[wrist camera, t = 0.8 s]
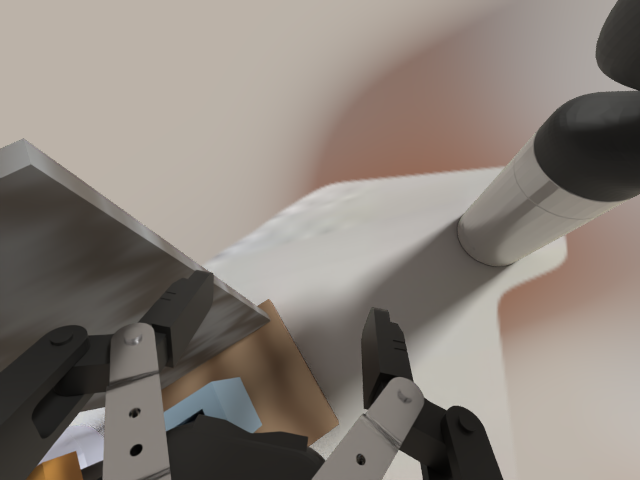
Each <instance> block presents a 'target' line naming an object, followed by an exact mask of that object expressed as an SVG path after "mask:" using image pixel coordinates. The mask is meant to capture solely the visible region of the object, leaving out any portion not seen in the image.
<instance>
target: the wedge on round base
mask: <svg viewBox="0 0 640 480" xmlns="http://www.w3.org/2000/svg"><path fill="white" fill-rule="evenodd" d="M74 451H76V452H77V456H78V461H79V465H80V469H83V468H85V467H88V466H90V465H92V464H95V463H97V462H99V461H102V460H103V454H104V439H103V437H102V435H101V434H100V433H99V432H98V431H97V430H95V429H94V428H92V427H89V426H86V425H75V426H70V427H67V428H66V430H65V431H64V432H63V433H62V435H61V436H60V437H59V439H58V440H57V441H56V442H55V444H54V445H53V446H52V447H51V449H50V450H49V451H48V452H47V454H46V455H45V456H44V457H43V459H42V460H41V461H40V462H39V464H41V463H42V462H45V461H48V460H51V459H54V458H57V457H60V456H62V455H65V454H68V453H71V452H74ZM39 464H38V465H39ZM38 465H37V466H38Z"/></svg>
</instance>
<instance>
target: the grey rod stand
mask: <svg viewBox="0 0 640 480" xmlns="http://www.w3.org/2000/svg"><path fill="white" fill-rule="evenodd" d="M195 270H201V271H206V272H209V271H207V270H206V269H205V268H203V267H202V266H200V265H199V264H198V263H196V262H195V261H193V260H192V259H190V258H189V257H188V256H186V255H185V254H184V253H182V252H181V251H179V250H178V249H177V248H175V247H174V246H173V245H171V244H170V243H168V242H167V241H166V240H164V239H163V238H161V237H160V236H159V235H157V234H156V233H155V232H153V231H152V230H150V229H149V228H148V227H146V226H145V225H143V224H142V223H141V222H139V221H138V220H136V219H135V218H134V217H132V216H131V215H130V214H128V213H127V212H125V211H124V210H123V209H121V208H120V207H118V206H117V205H116V204H114V203H113V202H111V201H110V200H109V199H107V198H106V197H104V196H103V195H102V194H100V193H99V192H97V191H96V190H95V189H93V188H92V187H91V186H89V185H88V184H86V183H85V182H84V181H82V180H81V179H79V178H78V177H77V176H75V175H74V174H73V173H71V172H70V171H68V170H67V169H65V168H64V167H63V166H61V165H60V164H59V163H57V162H56V161H54V160H53V159H51V158H50V157H49V156H47V155H46V154H45V153H43V152H42V151H41V150H39V149H38V148H36V147H35V146H34V145H32V144H31V143H29V142H28V141H27V140H25V139H21V140H19V141H17V142H14V143H12V144H10V145H8V146H5V147H3V148H1V149H0V372H1V371H3V370H4V369H5V368H6V367H7V366H8V365H10V364H11V363H12V362H13V361H14V360H16V359H17V358H18V357H19V356H20V355H21V354H23V353H24V352H25V351H26V350H27V349H28V348H30V347H31V346H32V345H33V344H34V343H36V342H37V341H38V340H39V339H40V338H41V337H43V336H44V335H45V334H46V333H48V332H50V331H52V330H54V329H56V328H59V327H62V326H67V325H79V326H82V327H84V328H85V329H86V330H87V333H88V335H106V334H114V333H115V332H116V331H117V330H119V329H120V328H122V327H124V326H126V325H129V324H132V323H137V322H138V321H139V320H140V319H141V318H142V317H143V316H144V315H145V313H146V312H147V311H148V310H149V309H150V308H151V307H152V306H153V304H154V303H155V302H156V301H157V300H158V299H160V297H161V296H162V294H163V293H165V291H166V290H167V289H168V288H169V287H170V285H171V284H172V283H174V282H176V281H178V280H179V279H181V278H186V279H189V277H190V276H191V275H192V274H193V273H194V271H195ZM159 376H160V385H161V393H162V402H163V411H164V412H165V411H167V410H168V409H170V408H171V407H173V406H174V405H176V404H178V403H179V402H181V401H182V400H184V399H185V398H187V397H188V396H190V395H191V394H193V393H195V392H196V391H198V390H199V389H201V388H202V387H204V386H205V385H207V384H208V383H210V382H213V381H219V380H225V379H231V378H237V377H240V378H241V381H242V383H243V385H244V387H245V389H246V391H247V393H248V395H249V398H250V400H251V402H252V404H253V406H254V408H255V410H256V413H257V415H258V417H259V419H260V421H261V423H262V426H261V427H259V428H258V429H257V430H256V431H255V432H254V433H264V432H277V431H283V432H288V433H293V434H297V435H302V436H307V437H308V444H307V446H308V447H309V446H310V445H311V444H313V443H314V442H315V441H317V440H318V439H319V438H321V437H322V436H324V435H325V434H326V433H328V432H329V431H330V430H332V429H333V428H334V427H336V426H337V425H339V422H338V419H337V417H336V416H335V414H334V412H333V410H332V408H331V407H330V405H329V403H328V401H327V400H326V398H325V396H324V394H323V392H322V391H321V389H320V387H319V385H318V384H317V382H316V380H315V378H314V376H313V375H312V373H311V371H310V369H309V368H308V366H307V364H306V362H305V360H304V359H303V357H302V355H301V353H300V351H299V350H298V348H297V346H296V344H295V343H294V341H293V339H292V337H291V335H290V334H289V332H288V330H287V328H286V327H285V325H284V323H283V321H282V319H281V318H280V316H279V314H278V312H277V310H276V309H275V307H274V305H273V303H272V302H271V301H270V300H269V299H268V300H266V301H265V302H263V303H261V304H260V305H258V306H256V305H255V304H253V303H252V302H250V301H249V300H248V299H246V298H245V297H244V296H242V295H241V294H239V293H238V292H237V291H235V290H234V289H232V288H231V287H230V286H228V285H227V284H225V283H224V282H223V281H221V280H220V279H218V278H217V277H216V276H214V293H213V303H212V306H211V309H210V311H209V312H208V314H207V315H206V317H205V319H204V320H203V322H202V323H201V325H200V327H199V328H198V330H197V332H196V333H195V335H194V336H193V338H192V340H191V341H190V343H189V344H188V346H187V348H186V349H185V351H184V352H183V354H182V356H181V357H180V359H179V361H178V362H177V364H176V365H175V367H174V368H171V367H166V366H165V367H164V368H163V370H162V371H161V373H160V374H159ZM105 402H106V392H101V393H94V395H93V396H92V397H91V398H90V400H89V401H88V402H87V403H86V405H85V406H84V407H83V408H82V410H81V411H80V412H82V411H87V410H92V409H97V408H102V407H105ZM194 422H195V421H193V422H190V423H194ZM190 423H188V424H190ZM102 475H103V460H102V461H99V462H97V463H95V464H92V465H90V466H88V467H85V468H83V469H80V465H79V461H78V456H77V452H76V451H74V452H71V453H68V454H65V455H62V456H60V457H57V458H54V459H51V460H48V461H45V462H42V463H41V464H39V465H38V466H36V467H35V469H34V470H33V471H32V472H31V474H30V475H29V476H28V477H27V479H26V480H96V479H98V478H99V477H101V476H102Z"/></svg>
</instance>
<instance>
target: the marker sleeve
mask: <svg viewBox="0 0 640 480" xmlns="http://www.w3.org/2000/svg"><path fill="white" fill-rule="evenodd" d="M198 414H201V415H206V416H211V417H215V418H220V419H225V420H227V421H229V422H231V423H233V424H235V425H236V426H238V427H240V428H242V429H244V430H246V431H248V432H250V433H254V432H255V431H256V430H257V429H258V428H259V427H261V426H262V423H261V421H260V419H259V417H258V415H257V413H256V410H255V408H254V406H253V404H252V402H251V400H250V398H249V395H248V393H247V391H246V389H245V387H244V385H243V383H242V381H241V378H240V377H237V378H231V379H225V380H219V381H213V382H210V383H208V384H207V385H205V386H204V387H202V388H201V389H199V390H198V391H196V392H195V393H193V394H191V395H190V396H188V397H187V398H185V399H184V400H182V401H181V402H179V403H178V404H176V405H174V406H173V407H171V408H170V409H168V410H167V411H165V412H164V419H165V428H166V431H168V430H170V429H172V428H175V427H178V426H181V425H185V424H188V423H190V422H193V421H195V420H196V418H197V416H198Z"/></svg>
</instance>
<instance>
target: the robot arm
mask: <svg viewBox="0 0 640 480" xmlns="http://www.w3.org/2000/svg"><path fill="white" fill-rule="evenodd" d="M596 60H597V64H598V66H599V68H600V69H601V71H602V72H603V73H604V74H605V75H607V76H608V77H609V78H611V79H613V80H614V81H616V82H618V83H620V84H622V85H625V86H627V87H630V88H633V89H636V90H638V91H617V92H597V93H591V94H587V95H582V96H579V97H576V98H574V99H572V100H570V101H568V102H566V103H565V104H563V105H562V106H561V107H559V108H558V109H557V110H556V111H555V112H554V113H553V114H552V115H551V116H550V117H549V118H548V119H547V121H546V122H545V123H544V124H543V125H542V126H541V127H540V129H539V130H538V131H537V132H536V133H535V134H534V135H533V137H532V138H531V139H530V140H529V141H528V142H527V143H526V144H525V145H524V146H523V148H522V149H521V150H520V151H519V152H518V154H517V155H516V156H515V157H514V158H513V159H512V160H511V161H510V162H509V164H508V165H507V166H506V167H505V168H504V169H503V170H502V172H501V173H500V174H499V175H498V176H497V177H496V178H495V179H494V181H493V182H492V183H491V184H490V185H489V186H488V187H487V188H486V190H485V191H484V192H483V193H482V194H481V195H480V196H479V197H478V199H477V200H476V201H475V202H474V203H473V204H472V205H471V206H470V208H469V209H468V210H467V211H466V212H465V213H464V214H463V216H462V217H461V218H460V221H459V223H458V228H457V232H458V238H459V241H460V243H461V245H462V247H463V248H464V249H465V251H466V252H467V253H468V254H469V255H470V256H472V257H473V258H474V259H476V260H477V261H479V262H481V263H484V264H487V265H491V266H505V265H510V264H512V263H514V262H516V261H518V260H519V259H521V258H523V257H525V256H527V255H529V254H531V253H533V252H534V251H536V250H538V249H540V248H542V247H544V246H545V245H547V244H549V243H551V242H553V241H555V240H556V239H558V238H560V237H562V236H564V235H566V234H567V233H569V232H571V231H573V230H575V229H576V228H578V227H580V226H582V225H584V224H586V223H588V222H589V221H591V220H593V219H595V218H597V217H598V216H600V215H602V214H603V213H605V212H607V211H609V210H611V209H613V208H615V207H616V206H618V205H620V204H622V203H624V202H625V201H627V200H629V199H631V198H633V197H635V196H637V195H639V194H640V0H618V1H617V3H616V4H615V6H614V7H613V9H612V10H611V12H610V14H609V16H608V17H607V19H606V21H605V23H604V25H603V27H602V30H601V32H600V36H599V38H598V41H597V46H596ZM213 293H214V275H213V273H211V272H206V271H201V270H195V271H194V273H193V274H192V275H191V276H190V277H189V279H186V278H181V279H179V280H178V281H176V282H174V283H172V284H171V285H170V287H169V288H168V289H167V290H166V291H165V293H163V294H162V296H161V297H160V299H158V300H157V301H156V302H155V303H154V304H153V306H152V307H151V308H150V309H149V310H148V311H147V312H146V313H145V315H144V316H143V317H142V318H141V319H140V320H139V321H138V322H137V323H132V324H129V325H126V326H124V327H122V328H120V329H119V330H117V331H116V332H115V333H114V334H106V335H88V333H87V330H86V329H85V328H84V327H82V326H79V325H67V326H62V327H59V328H56V329H54V330H52V331H50V332H48V333H46V334H45V335H44V336H43V337H41V338H40V339H39V340H38V341H37V342H36V343H34V344H33V345H32V346H31V347H30V348H28V349H27V350H26V351H25V352H24V353H23V354H21V355H20V356H19V357H18V358H17V359H16V360H14V361H13V362H12V363H11V364H10V365H8V366H7V367H6V368H5V369H4V370H3V371H1V372H0V480H26V479H27V477H28V476H29V475H30V474H31V472H32V471H33V470H34V469H35V467H36V466H37V465H38V464H39V462H40V461H41V460H42V459H43V457H44V456H45V455H46V454H47V452H48V451H49V450H50V449H51V447H52V446H53V445H54V444H55V442H56V441H57V440H58V439H59V437H60V436H61V435H62V433H63V432H64V431H65V430H66V428H67V427H68V426H69V425H70V423H71V422H72V421H73V420H74V418H75V417H76V416H77V415H78V413H79V412H80V411H81V410H82V408H83V407H84V406H85V405H86V403H87V402H88V401H89V400H90V398H91V397H92V396H93V395H94V393H101V392H106V402H105V428H104V454H103V475H102V476H101V477H99V478H98V479H96V480H382V478H383V477H384V475H385V473H386V471H387V469H388V468H389V466H390V464H391V462H392V461H393V459H394V457H395V455H396V454H397V452H398V450H401V451H402V452H404V453H406V454H407V455H409V456H411V457H412V458H414V459H416V460H418V461H419V462H420V464H421V470H422V476H423V480H503V478H502V475H501V472H500V469H499V467H498V464H497V461H496V458H495V456H494V453H493V450H492V447H491V445H490V442H489V439H488V436H487V434H486V431H485V428H484V426H483V424H482V423H481V421H480V420H479V419H478V418H477V416H476V415H474V414H473V413H472V412H471V411H469V410H468V409H466V408H464V407H461V406H452V407H450V408H449V409H448V410H445V409H443V408H441V407H439V406H437V405H435V404H433V403H431V402H430V401H428V400H427V399H425V398H424V396H423V394H422V392H421V390H420V388H419V387H418V386H417V385H416V384H415V383H414V382H413V377H412V373H411V368H410V363H409V358H408V353H407V349H406V344H405V339H404V334H403V332H402V330H401V329H400V327H399V326H398V324H396V323H392V322H390V318H389V312H388V311H387V310H383V309H378V308H374V307H372V308H371V310H370V313H369V316H368V318H367V321H366V324H365V327H364V329H363V333H362V339H361V348H362V374H363V399H364V409H368V411H367V412H366V413H365V414H362V415H361V416H360V417H359V419H358V420H357V421H356V423H355V424H354V425H353V426H352V428H351V429H350V430H349V432H348V433H347V434H346V436H345V437H344V438H343V439H342V441H341V442H340V443H339V445H338V446H337V447H336V448H335V450H334V451H333V452H332V454H331V455H330V456H329V458H328V459H327V460H326V461H325V459H324V458H323V457H322V456H321V455H320V454H318V453H317V452H316V451H315V450H313V449H312V448H310V447H308V446H307V444H308V437H307V436H302V435H297V434H293V433H288V432H283V431H277V432H264V433H250V432H248V431H246V430H244V429H242V428H240V427H238V426H236V425H235V424H233V423H231V422H229V421H227V420H225V419H220V418H215V417H211V416H206V415H201V414H198V416H197V418H196V420H195V422H194V423H190V424H185V425H181V426H178V427H175V428H172V429H170V430H168V431H166V428H165V419H164V411H163V402H162V393H161V385H160V376H159V374H160V373H161V371H162V370H163V368H164V367H165V366H166V367H171V368H174V367H175V365H176V364H177V362H178V361H179V359H180V357H181V356H182V354H183V352H184V351H185V349H186V348H187V346H188V344H189V343H190V341H191V340H192V338H193V336H194V335H195V333H196V332H197V330H198V328H199V327H200V325H201V323H202V322H203V320H204V319H205V317H206V315H207V314H208V312H209V311H210V309H211V306H212V303H213Z"/></svg>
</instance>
